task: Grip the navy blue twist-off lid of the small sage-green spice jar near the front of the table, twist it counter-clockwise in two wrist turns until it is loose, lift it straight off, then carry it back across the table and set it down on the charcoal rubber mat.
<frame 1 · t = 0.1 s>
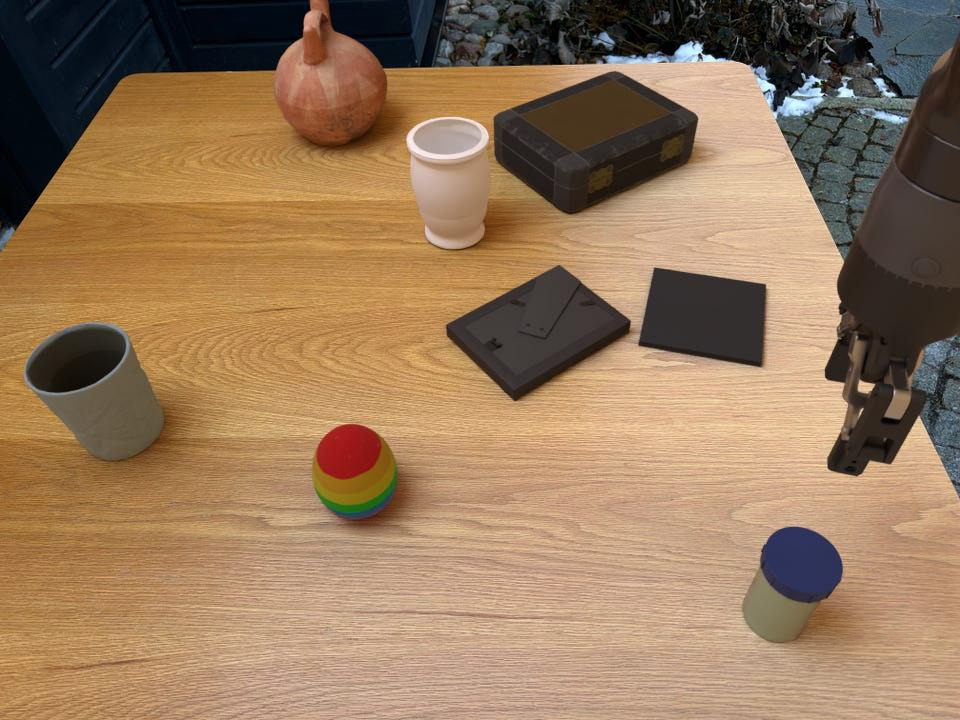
hand: (840, 421, 53), 21 cm above the table, tool pointing down, fingers open, 8 cm apart
jug: (338, 129, 126), on the table
jar: (454, 233, 105), on the table
decorative egg: (361, 496, 76), on the table
grey cup: (123, 431, 83), on the table
cash box: (590, 160, 117), on the table
spice jar: (772, 613, 66), on the table
mat: (703, 316, 92), on the table
lid: (802, 560, 59), point 9 cm above the table, screwed on, not yet turned
picture frame: (537, 335, 91), on the table
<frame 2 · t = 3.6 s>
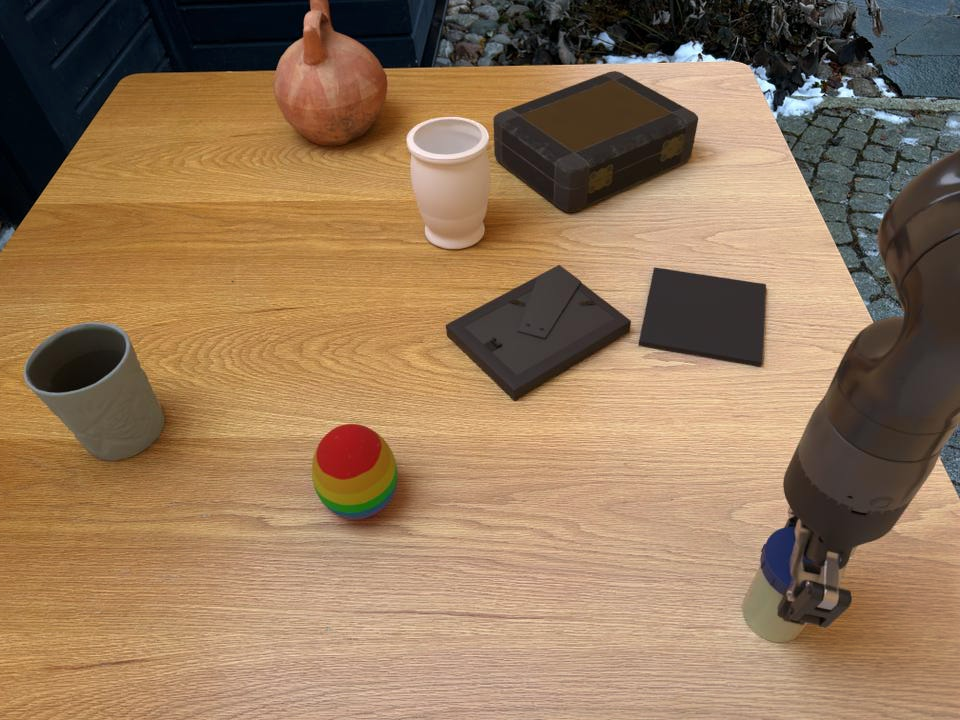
hand: (791, 580, 61), 6 cm above the table, tool pointing down, fingers closed on lid, 5 cm apart
lid: (802, 560, 59), point 9 cm above the table, screwed on, not yet turned, touching gripper
everything else where it was.
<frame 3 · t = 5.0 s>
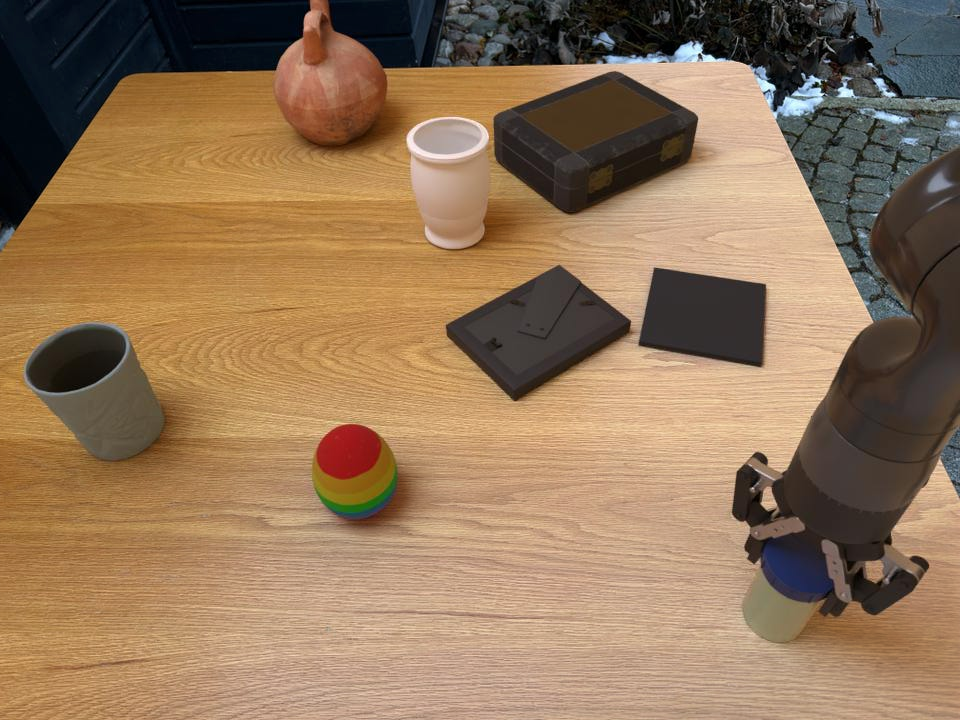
hand: (791, 580, 61), 6 cm above the table, tool pointing down, fingers closed on lid, 5 cm apart
lid: (802, 560, 59), point 10 cm above the table, turned 60° so far, risen 0.1 cm, still on its thread, touching gripper
everything else where it was.
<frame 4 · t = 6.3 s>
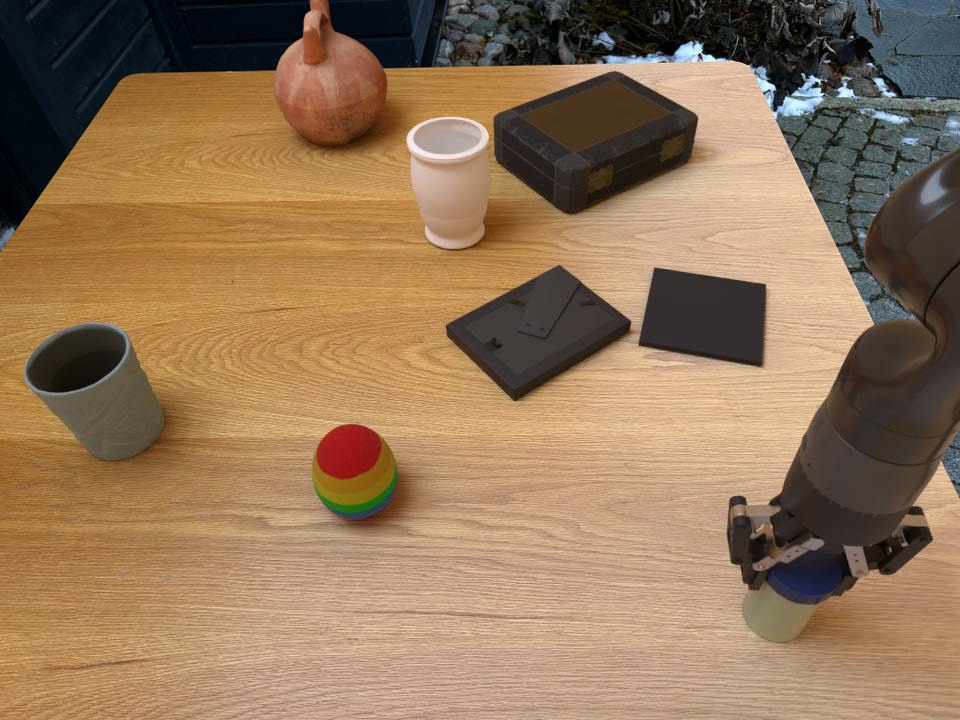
hand: (792, 582, 61), 6 cm above the table, tool pointing down, fingers closed on lid, 5 cm apart
lid: (802, 562, 58), point 10 cm above the table, off its thread, touching gripper
everything else where it was.
when the fingers open (6 cm above the table, at t = 8.5 s): lid stays where it is, resting on spice jar.
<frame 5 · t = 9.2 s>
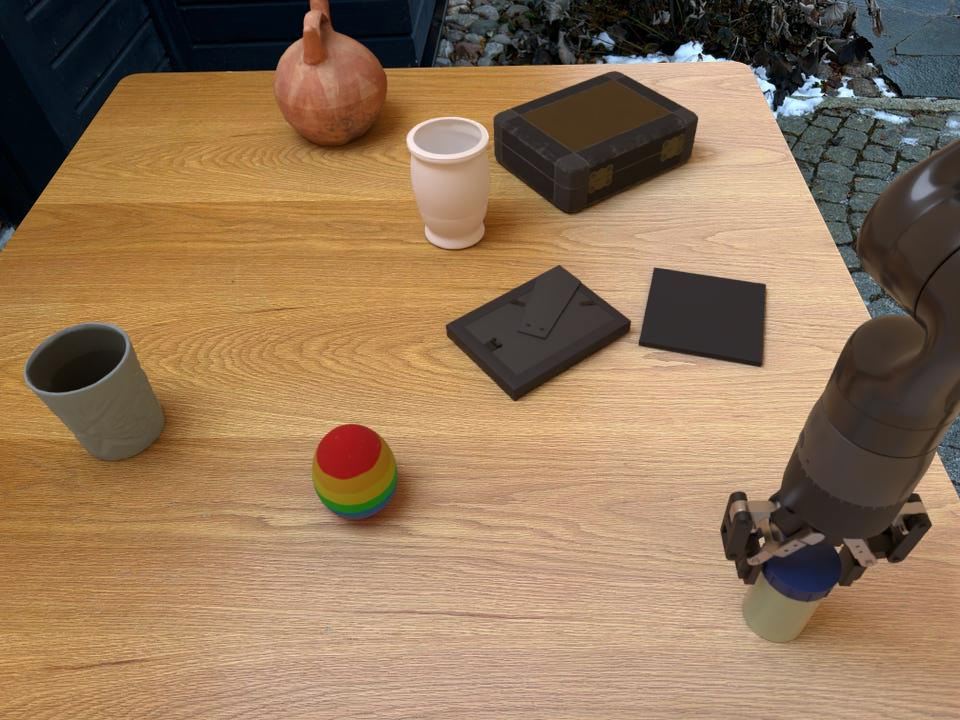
hand: (793, 575, 61), 6 cm above the table, tool pointing down, fingers open, 7 cm apart
spice jar: (772, 613, 66), on the table, touching lid
lid: (801, 559, 59), point 9 cm above the table, off its thread, touching spice jar
everything else where it was.
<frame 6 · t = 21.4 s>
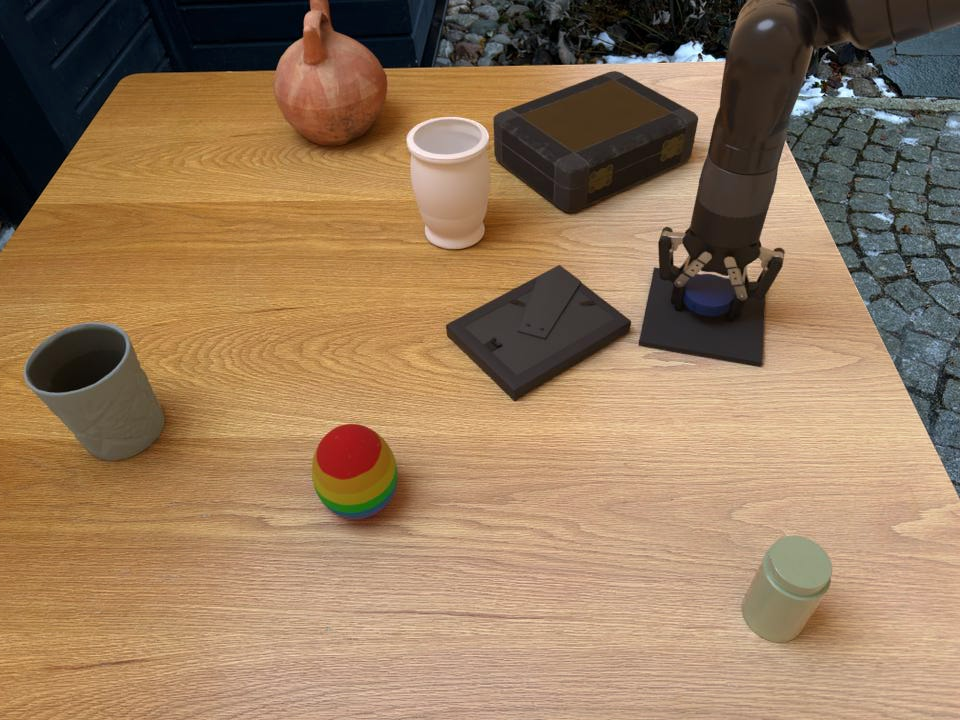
hand: (705, 310, 91), 1 cm above the table, tool pointing down, fingers closed on lid, 5 cm apart
spice jar: (772, 613, 66), on the table
lid: (709, 291, 89), point 4 cm above the table, off its thread, touching gripper
everything else where it was.
when the fingers open (1 cm above the table, at t = 23.6 s): lid drops 2 cm, resting on mat.
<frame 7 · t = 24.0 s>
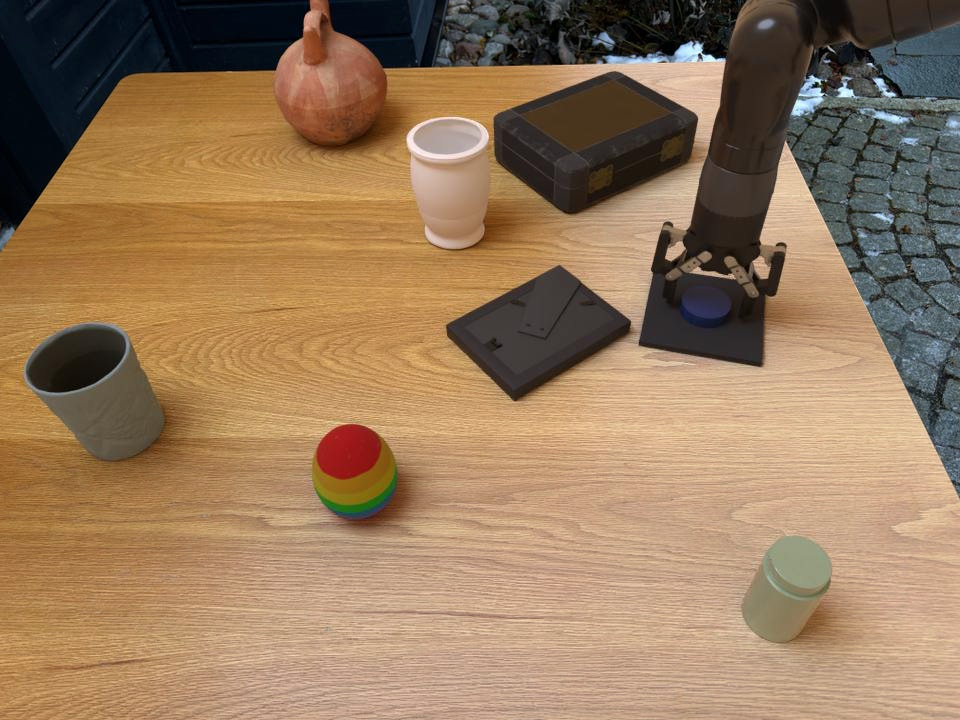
hand: (705, 306, 91), 2 cm above the table, tool pointing down, fingers open, 8 cm apart
lid: (706, 303, 90), point 2 cm above the table, off its thread, touching mat
everything else where it was.
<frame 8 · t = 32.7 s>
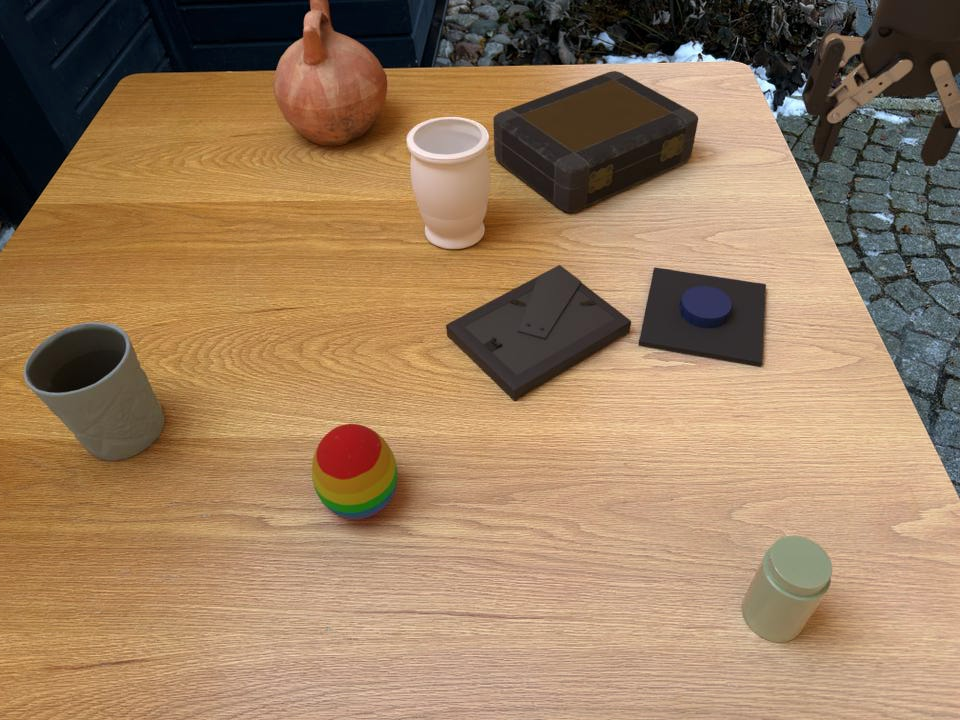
hand: (874, 159, 64), 28 cm above the table, tool pointing down, fingers open, 8 cm apart
nothing on the table moved.
at the end: lid inside the target area on the mat (0.1 cm from its centre), point 2.1 cm above the mat's base; lid came off its thread; the gripper is holding nothing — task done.
